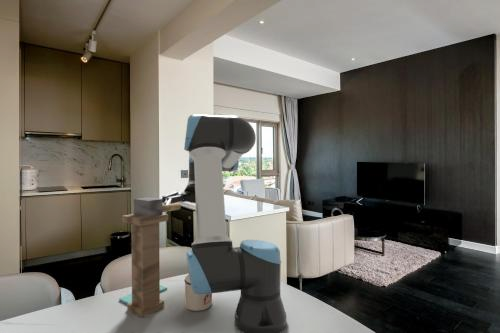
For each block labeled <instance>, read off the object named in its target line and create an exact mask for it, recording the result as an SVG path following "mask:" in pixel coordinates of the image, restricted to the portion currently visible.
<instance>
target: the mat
mask: <svg viewBox="0 0 500 333" xmlns="http://www.w3.org/2000/svg"><path fill="white" fill-rule="evenodd" d="M167 290H168V287H166V286H164V285H162V284H160V294H161V293H162V292H165V291H167ZM119 302H121V303H123V304H125V305H127V304H128V303H130V302H132V293H130V294H127V295H125V296H122V297H120V298H119Z"/></svg>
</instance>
